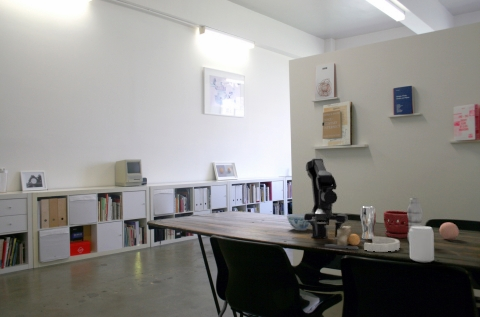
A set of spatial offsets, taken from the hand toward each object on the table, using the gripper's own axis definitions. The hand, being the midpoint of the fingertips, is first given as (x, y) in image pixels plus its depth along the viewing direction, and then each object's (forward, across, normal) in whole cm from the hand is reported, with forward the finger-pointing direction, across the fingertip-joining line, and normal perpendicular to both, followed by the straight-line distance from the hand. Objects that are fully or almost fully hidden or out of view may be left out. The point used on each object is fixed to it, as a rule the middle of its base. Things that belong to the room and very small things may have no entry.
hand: (326, 236), depth 179 cm
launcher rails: (+3, +9, 0) cm, 9 cm away
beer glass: (+3, +15, +20) cm, 25 cm away
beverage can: (+3, +41, -17) cm, 44 cm away
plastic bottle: (+3, +36, +15) cm, 39 cm away
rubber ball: (0, +12, 0) cm, 13 cm away
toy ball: (+3, +48, +32) cm, 58 cm away
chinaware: (+3, -24, +33) cm, 41 cm away
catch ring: (+3, +25, 0) cm, 25 cm away
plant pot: (+3, +26, +31) cm, 41 cm away
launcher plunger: (+3, +8, 0) cm, 9 cm away
